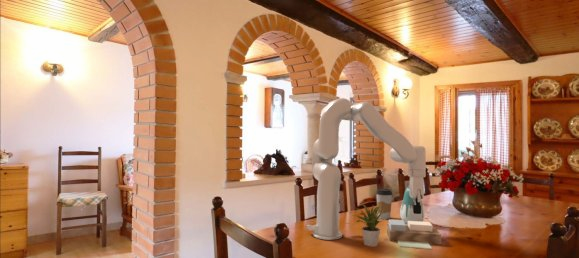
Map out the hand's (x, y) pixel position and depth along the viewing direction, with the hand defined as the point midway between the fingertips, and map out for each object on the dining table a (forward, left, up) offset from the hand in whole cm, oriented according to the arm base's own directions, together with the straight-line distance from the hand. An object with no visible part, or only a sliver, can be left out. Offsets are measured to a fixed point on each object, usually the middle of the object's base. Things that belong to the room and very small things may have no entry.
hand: (417, 213), depth 157 cm
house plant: (-21, -21, -9) cm, 32 cm away
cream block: (0, -9, -5) cm, 10 cm away
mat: (-4, -20, -9) cm, 22 cm away
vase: (+1, +17, -9) cm, 19 cm away
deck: (-3, -10, -9) cm, 14 cm away
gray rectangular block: (-10, -10, -5) cm, 15 cm away
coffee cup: (-12, +25, -9) cm, 29 cm away
